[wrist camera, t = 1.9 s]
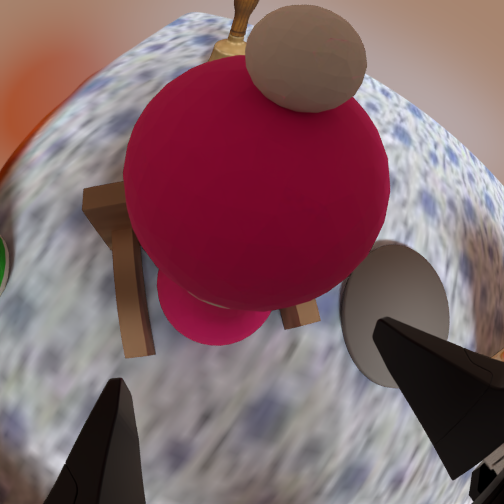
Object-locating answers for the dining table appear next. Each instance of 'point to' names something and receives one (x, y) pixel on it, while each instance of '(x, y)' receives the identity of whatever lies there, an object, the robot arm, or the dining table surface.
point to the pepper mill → (258, 176)
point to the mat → (390, 304)
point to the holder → (131, 273)
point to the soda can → (3, 264)
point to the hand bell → (235, 31)
